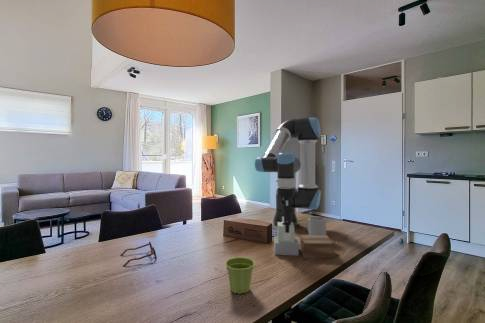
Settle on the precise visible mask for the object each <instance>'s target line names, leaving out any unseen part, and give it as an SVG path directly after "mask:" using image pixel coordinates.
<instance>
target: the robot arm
mask: <svg viewBox="0 0 485 323" xmlns="http://www.w3.org/2000/svg"><path fill="white" fill-rule="evenodd" d="M321 136H322V130H321V125H320V121H319V118H317V117H300V118H299V117H298V118H290V119H286V120H285V121H284V122H283V123H281V124H280V125H279V126H278V127H277V128H276V129H275V132H274V137H273V138H272V140H271V142H270V144H269V145H268V147H267V149H266V151H265V153H264V154H263V155H262V156H258V157H256V158H255V160H254V168H255V170H256V172H260V173H261V172H262V173H277V175H276V176H277V179H276V180H275V182H276V183H277V188H276V190H275V191H276V192H275V193H276V194H275V214H274V216H273V220H272V222H273V223H272V224H273V225H275V226H276V227H278V222H284V223H282V225H284V240H290V225H291V222H293V224H294V227H297V226H298V224H299V220H298V217H297V214H296V209H306V210H318V208H319V206H320V202H321V197H322V194H321V193H322V191H321V190H320V189H319V186H318V185H317V184H316V143H317V142H319V138H320V137H321ZM291 139H297V142H298V143H299V145H300V151H299V152H300V158H298V157H296V156H295V153H293V152H283V150H284V148H285V146H286V143H287V142H289V141H290V140H291ZM298 171H300V175H299V176H300V177H299V178H300V182H299V185H298V186H297V188H296V186H295V185H296V184H295V183H296V181H295V180H296V179H295V173H297V172H298Z"/></svg>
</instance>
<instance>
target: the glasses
mask: <svg viewBox="0 0 485 323" xmlns="http://www.w3.org/2000/svg"><path fill="white" fill-rule="evenodd" d="M148 246H149V249H150V251H151V253H149V254H146V255H143V256H140V257H135V258H131V259H128V260H127V261H126V262H125V263H124V264H123V265H122V267H123V266H124V267H125V266H127V265H128V264H129V263H130V262H132V261H139V260H142V259H145V258H147V257H150V256H153V257H154V258H155V259H157V254H156V250H155V247H153V246H152V242H151V241H148V243H146V244H144V245H141V246H137V247H135V248H132V247H131V248H126V249H124V251H123V252H122V253H121V254H120V257H121V256H122V257H123V256H124V254H125V253H126V252H128V251H137V250H138V249H139V250H140V249H141V248H145V247H148Z"/></svg>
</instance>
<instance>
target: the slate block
mask: <svg viewBox="0 0 485 323" xmlns="http://www.w3.org/2000/svg"><path fill="white" fill-rule="evenodd" d="M273 240H274V242H273V243H274V245H273V246H274V247H273V248H274V255H275V256H276V255H277V256H280V255H281V256H299V254H300V253H299V246H300V243H299V241H298V239H297V236H295V235H294V243H292V242H278V235H274V238H273Z"/></svg>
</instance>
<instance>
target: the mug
mask: <svg viewBox="0 0 485 323" xmlns="http://www.w3.org/2000/svg"><path fill="white" fill-rule="evenodd" d="M306 229H307V231H308V235H327V219H326V218H325V217H323V216H309V217H308V218H307V219H306Z"/></svg>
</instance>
